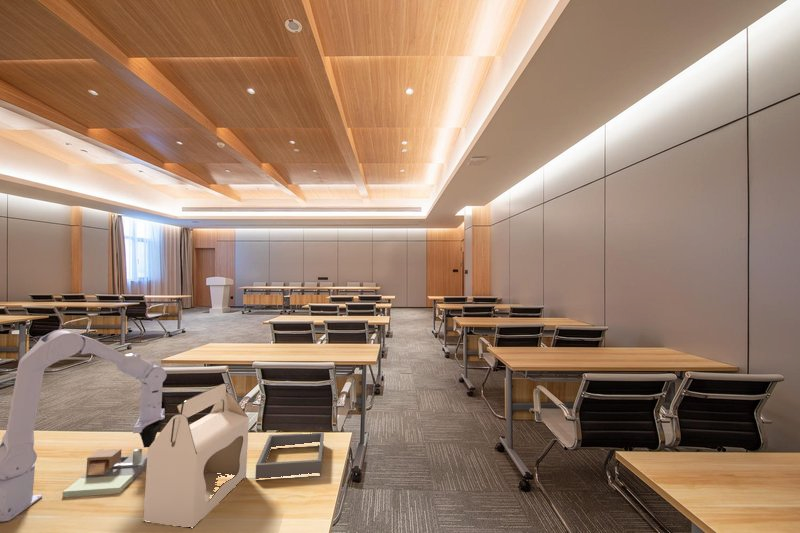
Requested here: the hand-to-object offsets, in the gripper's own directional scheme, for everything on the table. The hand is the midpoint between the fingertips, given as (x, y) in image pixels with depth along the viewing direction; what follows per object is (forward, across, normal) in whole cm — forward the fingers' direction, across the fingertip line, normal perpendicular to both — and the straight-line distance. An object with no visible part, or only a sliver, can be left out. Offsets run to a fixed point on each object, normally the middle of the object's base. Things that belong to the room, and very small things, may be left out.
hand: (148, 446), depth 109 cm
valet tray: (+4, -7, -46) cm, 46 cm away
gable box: (+5, -22, -24) cm, 33 cm away
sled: (+3, -8, +4) cm, 9 cm away
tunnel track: (+4, -9, +5) cm, 11 cm away
